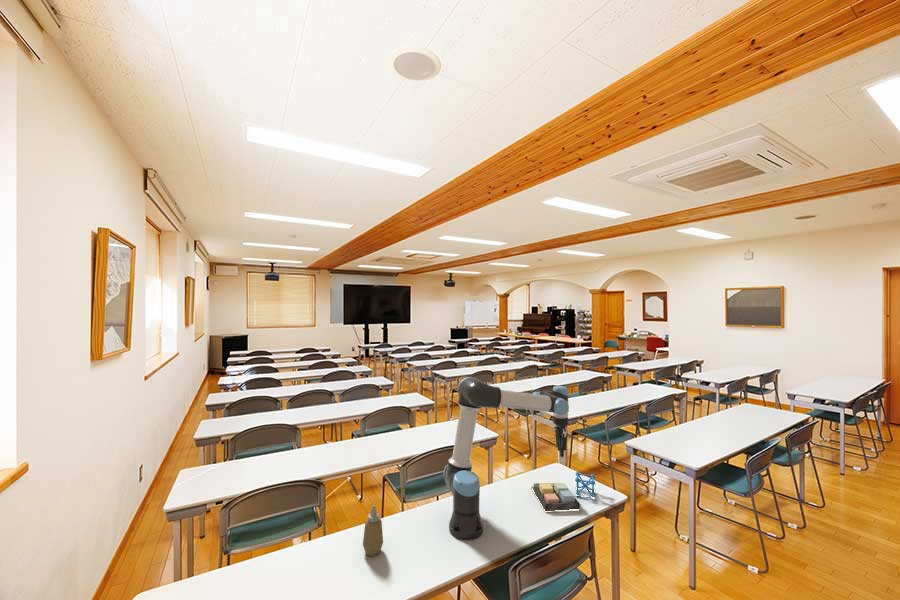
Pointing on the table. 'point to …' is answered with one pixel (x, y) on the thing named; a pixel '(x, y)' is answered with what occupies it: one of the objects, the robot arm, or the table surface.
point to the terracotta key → (551, 498)
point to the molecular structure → (585, 485)
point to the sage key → (560, 487)
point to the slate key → (567, 496)
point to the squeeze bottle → (373, 533)
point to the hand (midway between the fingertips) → (561, 462)
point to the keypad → (554, 506)
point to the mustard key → (546, 488)
